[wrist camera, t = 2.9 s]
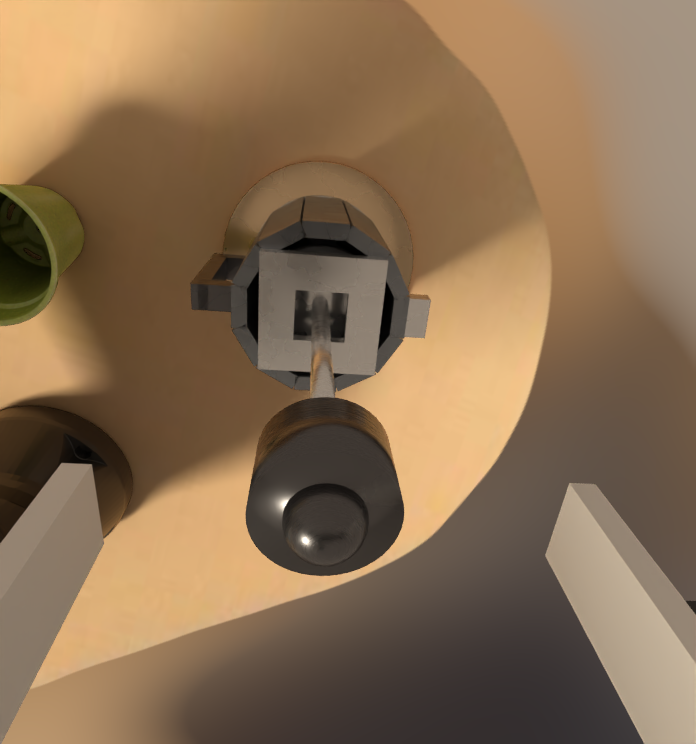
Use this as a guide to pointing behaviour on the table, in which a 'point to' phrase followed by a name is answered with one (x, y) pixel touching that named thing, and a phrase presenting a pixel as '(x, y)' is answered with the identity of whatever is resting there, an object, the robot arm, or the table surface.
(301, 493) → the plunger
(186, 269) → the table surface
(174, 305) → the table surface
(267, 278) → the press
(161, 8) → the table surface
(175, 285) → the table surface
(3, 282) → the plant pot
